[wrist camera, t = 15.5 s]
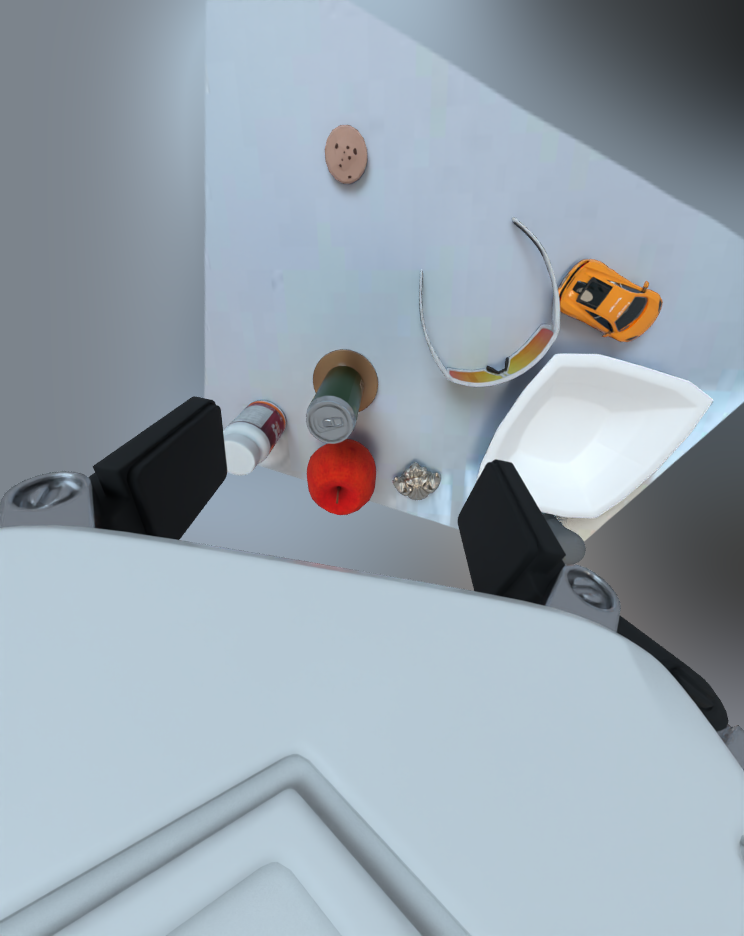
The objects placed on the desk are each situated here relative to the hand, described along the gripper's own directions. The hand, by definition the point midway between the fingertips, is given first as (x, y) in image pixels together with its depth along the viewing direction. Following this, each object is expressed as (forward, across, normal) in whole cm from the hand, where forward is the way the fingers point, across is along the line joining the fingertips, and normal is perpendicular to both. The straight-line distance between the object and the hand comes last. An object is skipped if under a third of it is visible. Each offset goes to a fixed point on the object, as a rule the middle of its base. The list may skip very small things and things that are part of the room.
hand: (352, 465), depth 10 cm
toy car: (+32, -24, -7) cm, 40 cm away
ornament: (+32, -11, +22) cm, 40 cm away
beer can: (+31, +3, +9) cm, 32 cm away
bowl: (+32, -29, +9) cm, 44 cm away
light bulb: (+32, -36, +25) cm, 54 cm away
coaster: (+31, +3, +9) cm, 33 cm away
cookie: (+31, +6, -13) cm, 34 cm away
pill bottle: (+32, +14, +17) cm, 38 cm away
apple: (+32, +1, +20) cm, 37 cm away
